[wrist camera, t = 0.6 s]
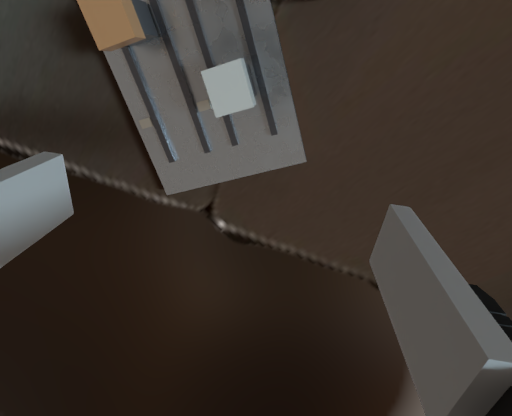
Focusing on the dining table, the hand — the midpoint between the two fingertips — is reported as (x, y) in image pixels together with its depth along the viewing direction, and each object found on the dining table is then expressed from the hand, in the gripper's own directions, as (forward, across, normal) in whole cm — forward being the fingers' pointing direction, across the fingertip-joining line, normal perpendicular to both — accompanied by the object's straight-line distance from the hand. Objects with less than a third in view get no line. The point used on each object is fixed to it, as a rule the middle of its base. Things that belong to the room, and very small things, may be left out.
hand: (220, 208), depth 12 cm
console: (+25, -8, +2) cm, 26 cm away
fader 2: (+23, -3, +2) cm, 23 cm away
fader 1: (+23, -14, +6) cm, 27 cm away
